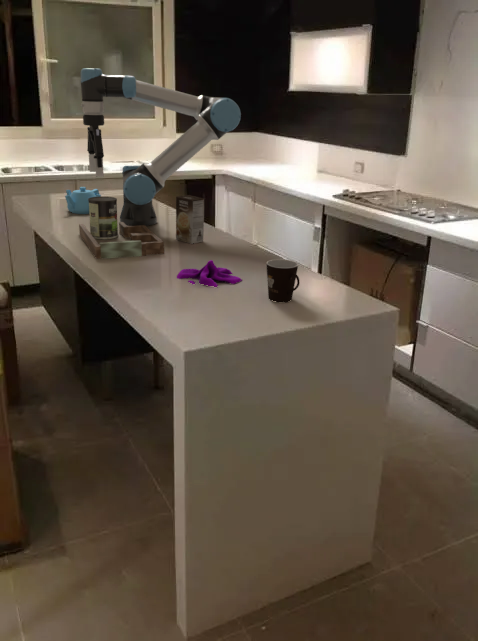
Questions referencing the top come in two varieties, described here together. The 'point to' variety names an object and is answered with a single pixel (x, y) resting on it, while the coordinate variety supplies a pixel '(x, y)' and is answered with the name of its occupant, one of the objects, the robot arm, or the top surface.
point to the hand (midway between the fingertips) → (96, 174)
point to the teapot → (80, 200)
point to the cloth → (209, 275)
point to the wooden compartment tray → (125, 243)
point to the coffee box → (189, 219)
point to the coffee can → (103, 217)
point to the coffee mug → (281, 279)
